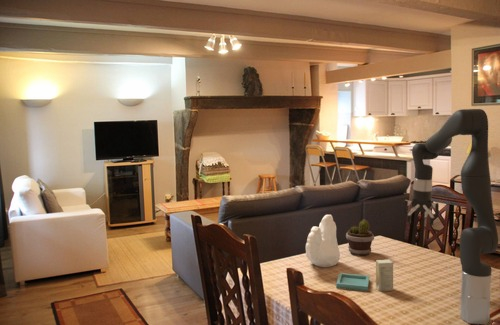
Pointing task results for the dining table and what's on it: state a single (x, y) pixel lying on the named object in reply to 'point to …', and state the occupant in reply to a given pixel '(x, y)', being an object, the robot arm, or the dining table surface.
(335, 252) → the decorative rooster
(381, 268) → the skincare box
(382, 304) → the dining table surface
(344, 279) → the teal tray
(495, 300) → the dining table surface
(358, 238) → the flowerpot
